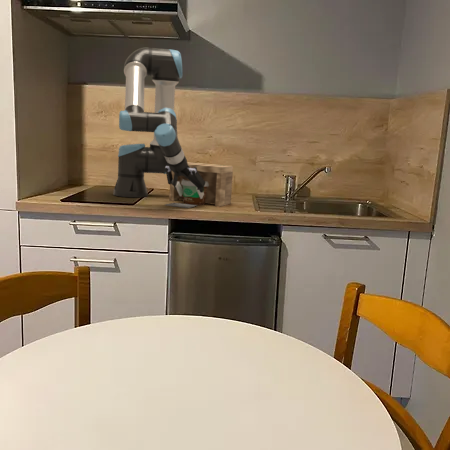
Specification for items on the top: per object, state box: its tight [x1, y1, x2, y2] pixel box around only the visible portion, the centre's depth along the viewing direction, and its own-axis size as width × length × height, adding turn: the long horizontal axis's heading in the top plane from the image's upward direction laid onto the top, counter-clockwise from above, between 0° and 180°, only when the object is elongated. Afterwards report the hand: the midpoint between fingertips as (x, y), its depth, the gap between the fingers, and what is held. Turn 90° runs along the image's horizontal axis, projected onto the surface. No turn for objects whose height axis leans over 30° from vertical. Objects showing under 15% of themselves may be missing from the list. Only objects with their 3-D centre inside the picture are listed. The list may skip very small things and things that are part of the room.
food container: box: [181, 179, 209, 206], centre depth 224 cm, size 12×6×10 cm, turn 68°
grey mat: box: [164, 202, 198, 209], centre depth 218 cm, size 11×8×1 cm
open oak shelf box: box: [169, 161, 234, 208], centre depth 231 cm, size 24×12×16 cm, turn 67°
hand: (191, 195), depth 224 cm, fingers closed on food container, 9 cm apart
